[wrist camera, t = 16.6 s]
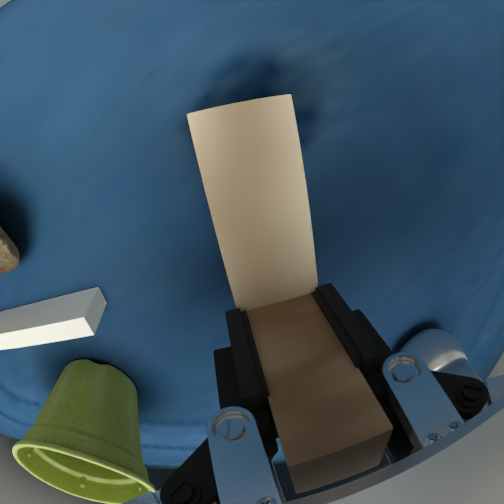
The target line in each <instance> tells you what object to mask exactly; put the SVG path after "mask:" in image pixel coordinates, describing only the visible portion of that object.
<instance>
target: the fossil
mask: <svg viewBox="0 0 504 504" xmlns="http://www.w3.org/2000/svg"><path fill="white" fill-rule="evenodd" d="M19 259H20V256H19V251H18V249H17V247H16V246H15V244H14V243H13V242H12V241H11V239H10V238H9V237H8V236H7V234H6V233H5V232H4V231H3V230H2V228H1V227H0V273H5V272H9V271H12V270H14V269H15V268H16V267H17V266H18V264H19Z"/></svg>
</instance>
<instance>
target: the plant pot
mask: <svg viewBox="0 0 504 504" xmlns="http://www.w3.org/2000/svg"><path fill="white" fill-rule="evenodd" d="M12 453H13V455H14V457H15V459H16V460H17V461H18V463H19V464H20V465H22V467H24V468H25V469H26V470H27V471H28V472H30V473H31V474H32V475H34V476H35V477H37V478H38V479H40V480H42V481H43V482H46V483H47V484H49V485H51V486H53V487H55V488H57V489H60V490H62V491H64V492H66V493H69V494H72V495H74V496H78V497H81V498H84V499H88V500H91V501H97V502H101V503H108V504H122V503H124V502H127V501H129V500H131V499H134V498H136V497H139V496H141V495H143V494H145V493H148V492H150V491H152V492H153V493H154V492H156V490H155V487H154V486H153V485H152V484H151V483H150V482H149V479H148V474H147V470H146V468H145V466H144V465H143V461H142V452H141V443H140V433H139V421H138V401H137V391H136V388H135V386H134V384H133V382H132V381H131V380H130V379H129V378H128V377H127V376H126V375H125V374H124V373H122V372H121V371H120V370H118V369H116V368H115V367H113V366H111V365H101V364H97V363H94V362H92V361H90V360H88V359H82V360H76V361H73V362H70V363H69V364H68V365H67V366H66V367H65V368H64V370H63V372H62V373H61V375H60V377H59V379H58V380H57V382H56V384H55V386H54V388H53V390H52V391H51V393H50V395H49V397H48V399H47V400H46V402H45V404H44V406H43V408H42V410H41V412H40V414H39V416H38V418H37V420H36V422H35V424H34V425H33V427H32V428H31V429H29V430H28V431H27V433H26V434H25V436H24V438H23V440H21V441H18V442H16V443H15V445H14V446H13V449H12Z"/></svg>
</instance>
